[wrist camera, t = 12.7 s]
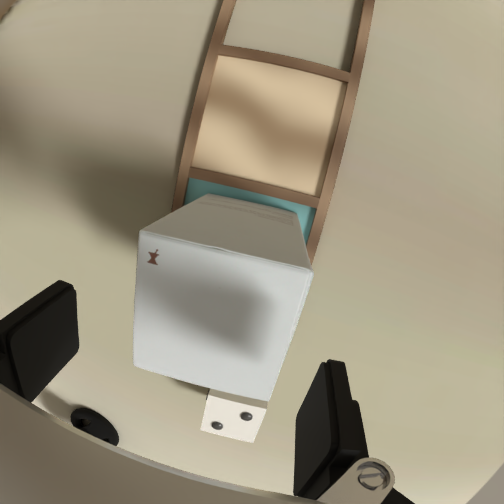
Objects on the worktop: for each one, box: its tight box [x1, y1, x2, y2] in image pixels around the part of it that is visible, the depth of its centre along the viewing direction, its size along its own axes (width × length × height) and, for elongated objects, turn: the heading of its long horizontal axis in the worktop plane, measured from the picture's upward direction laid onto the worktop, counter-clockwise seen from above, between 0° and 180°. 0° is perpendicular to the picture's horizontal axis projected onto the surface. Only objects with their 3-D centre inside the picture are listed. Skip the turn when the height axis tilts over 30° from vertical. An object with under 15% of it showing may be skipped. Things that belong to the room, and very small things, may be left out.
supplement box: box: [133, 193, 314, 401], centre depth 19 cm, size 7×7×13 cm
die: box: [200, 388, 268, 443], centre depth 28 cm, size 5×5×5 cm
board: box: [171, 0, 375, 265], centre depth 22 cm, size 31×12×1 cm, turn 167°
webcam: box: [71, 408, 119, 446], centre depth 30 cm, size 8×8×10 cm
